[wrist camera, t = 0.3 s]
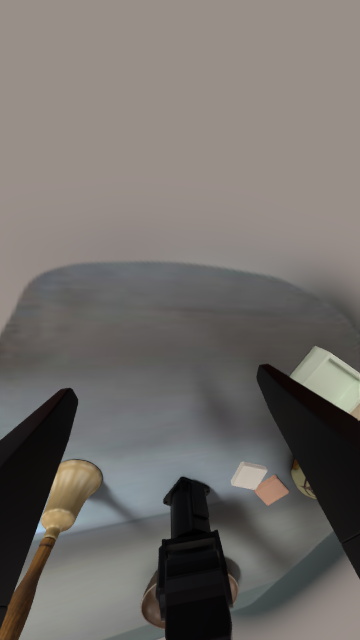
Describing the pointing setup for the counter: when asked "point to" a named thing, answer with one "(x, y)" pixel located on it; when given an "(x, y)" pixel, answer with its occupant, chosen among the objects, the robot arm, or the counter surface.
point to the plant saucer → (152, 607)
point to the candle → (356, 412)
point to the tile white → (248, 475)
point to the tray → (329, 378)
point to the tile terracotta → (271, 490)
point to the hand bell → (51, 535)
